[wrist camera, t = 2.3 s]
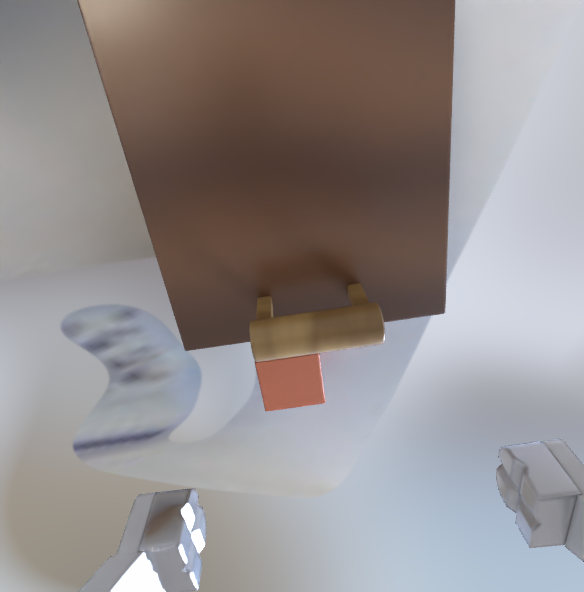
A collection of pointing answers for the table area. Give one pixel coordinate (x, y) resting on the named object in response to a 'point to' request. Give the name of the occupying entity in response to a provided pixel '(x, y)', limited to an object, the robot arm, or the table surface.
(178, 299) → the lid
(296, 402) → the block
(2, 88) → the table surface
